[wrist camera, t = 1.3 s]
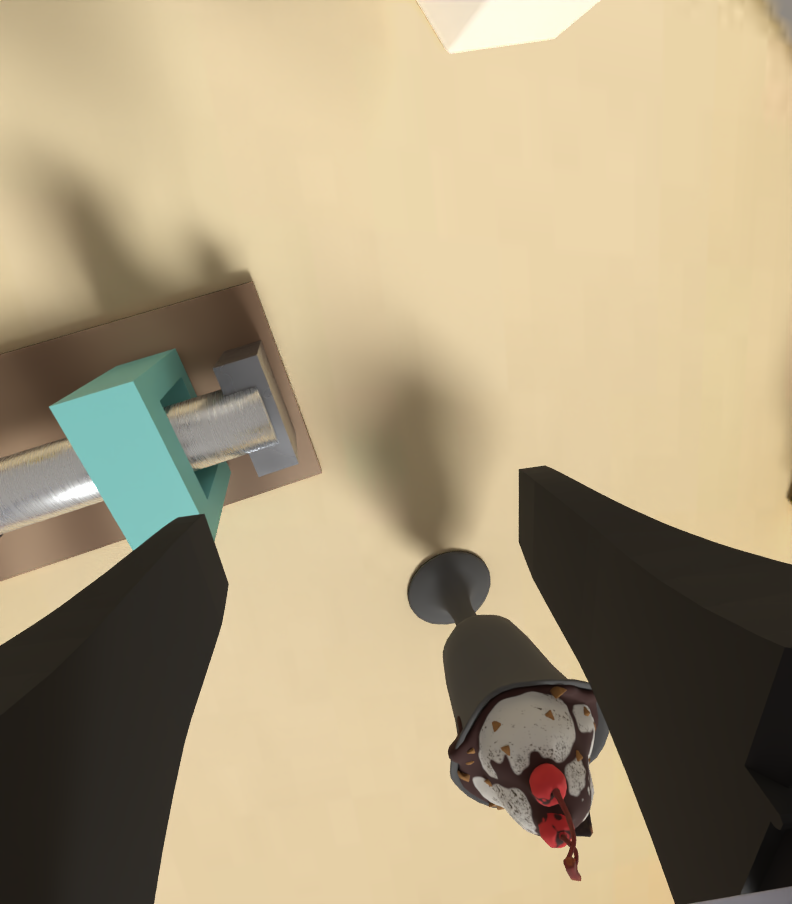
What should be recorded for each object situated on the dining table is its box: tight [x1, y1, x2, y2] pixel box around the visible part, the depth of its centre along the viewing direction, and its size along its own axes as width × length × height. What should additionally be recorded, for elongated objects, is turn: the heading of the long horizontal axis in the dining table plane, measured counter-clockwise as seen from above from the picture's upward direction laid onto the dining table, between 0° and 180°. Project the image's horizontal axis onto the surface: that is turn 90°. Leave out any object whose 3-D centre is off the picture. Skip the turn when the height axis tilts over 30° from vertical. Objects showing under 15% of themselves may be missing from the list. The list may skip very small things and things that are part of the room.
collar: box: [49, 348, 231, 551], centre depth 18 cm, size 2×6×6 cm, turn 15°
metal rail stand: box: [0, 340, 299, 537], centre depth 18 cm, size 18×4×5 cm, turn 105°
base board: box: [0, 281, 322, 581], centre depth 21 cm, size 19×9×1 cm, turn 105°
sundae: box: [408, 551, 609, 881], centre depth 21 cm, size 7×7×15 cm
